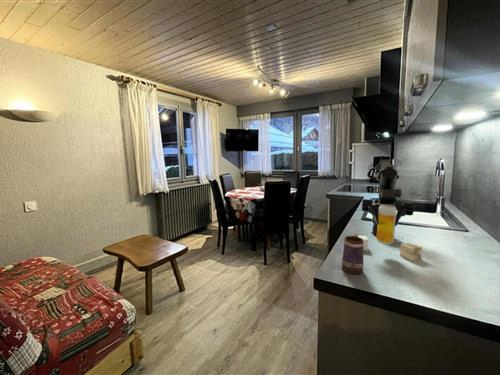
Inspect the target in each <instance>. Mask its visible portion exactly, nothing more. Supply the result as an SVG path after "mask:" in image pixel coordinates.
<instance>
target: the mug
mask: <svg viewBox="0 0 500 375" xmlns="http://www.w3.org/2000/svg"><path fill="white" fill-rule="evenodd" d="M358 235H359V234H358V233H353V235H347V236H345V237H344V241H343V251H342V257H341V270H342V271H344V272H345V273H347V274H350V275H356V276H357V275H361V274H362V273H363V272H364V264H365V263H364V250H363V246H364V242H363V239H362V238H359V237H358Z"/></svg>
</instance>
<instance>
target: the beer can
mask: <svg viewBox="0 0 500 375" xmlns="http://www.w3.org/2000/svg"><path fill="white" fill-rule="evenodd" d="M396 214H397V210H396V207H395V206H393V205H380V207H379V213H378V226H377V236H376V240H377V242H379V243H381V244H384V245H385V244H386V245H392V244H393V243H394V242H395V232H396V226H395V221H396Z"/></svg>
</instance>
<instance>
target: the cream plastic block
mask: <svg viewBox="0 0 500 375" xmlns="http://www.w3.org/2000/svg"><path fill="white" fill-rule="evenodd" d="M358 237H359V238H362V239H363V242H364V246H363V251H366V252H368V250H369V248H368V247H369V238H368V237H367V236H366V235H359V234H358Z"/></svg>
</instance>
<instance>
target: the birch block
mask: <svg viewBox="0 0 500 375" xmlns="http://www.w3.org/2000/svg"><path fill="white" fill-rule="evenodd" d="M399 249H400V250H399V256H400V257H402V258H405V259H407V260H409V261H416V260H421V259H422V252H423V246H421V245H418V244H415V243H412V242H405V243H400V248H399Z"/></svg>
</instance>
